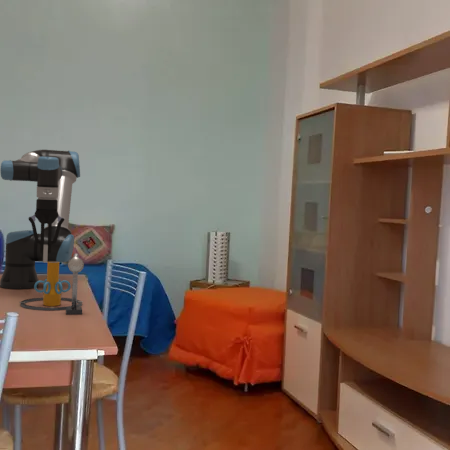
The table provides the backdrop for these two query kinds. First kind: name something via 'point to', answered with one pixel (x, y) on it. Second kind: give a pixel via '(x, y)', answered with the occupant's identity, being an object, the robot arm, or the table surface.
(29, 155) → the robot arm
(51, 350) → the table surface
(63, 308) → the centring ring
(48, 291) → the cylinder
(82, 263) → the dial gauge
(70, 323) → the table surface
